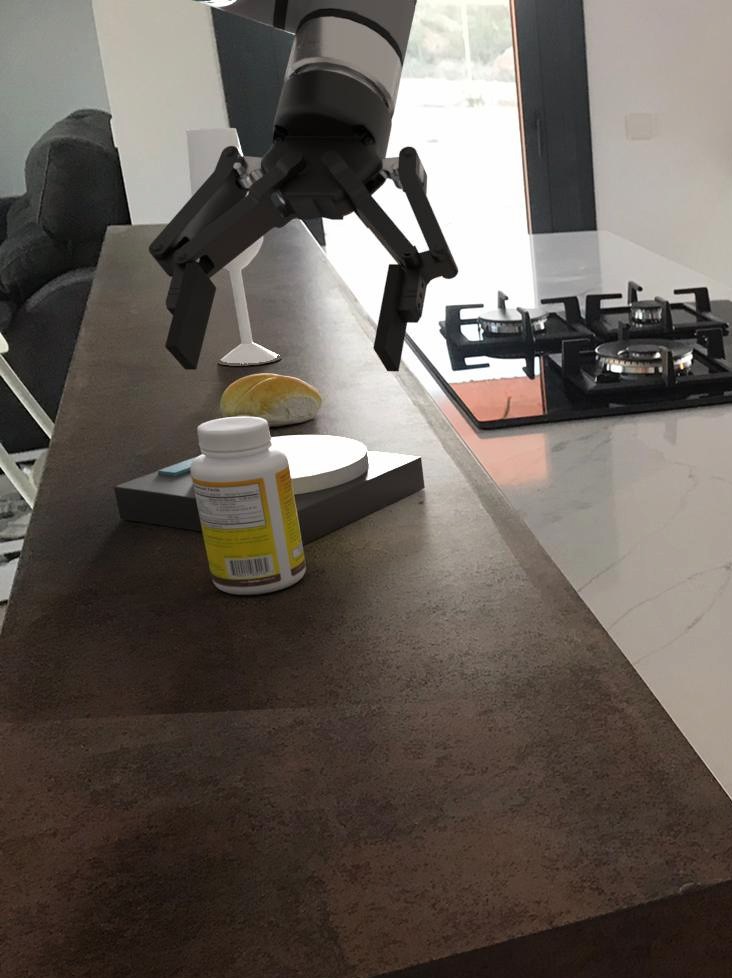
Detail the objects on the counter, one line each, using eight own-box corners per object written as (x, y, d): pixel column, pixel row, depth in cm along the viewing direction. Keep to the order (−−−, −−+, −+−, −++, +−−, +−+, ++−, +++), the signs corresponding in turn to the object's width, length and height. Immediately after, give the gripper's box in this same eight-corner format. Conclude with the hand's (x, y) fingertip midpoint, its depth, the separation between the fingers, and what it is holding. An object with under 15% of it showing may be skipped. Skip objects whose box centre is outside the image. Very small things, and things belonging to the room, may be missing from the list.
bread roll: (285, 401, 124) (279, 360, 122) (337, 416, 119) (331, 373, 117) (203, 418, 118) (195, 375, 117) (253, 434, 113) (245, 390, 111)
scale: (120, 519, 92) (109, 470, 90) (259, 466, 104) (252, 422, 102) (300, 547, 87) (292, 494, 85) (425, 487, 99) (419, 441, 97)
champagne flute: (252, 351, 145) (214, 127, 136) (295, 357, 143) (260, 128, 133) (203, 363, 140) (160, 129, 131) (247, 369, 137) (207, 131, 128)
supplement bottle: (277, 559, 84) (251, 407, 80) (324, 579, 81) (300, 421, 77) (195, 584, 80) (164, 425, 76) (242, 605, 77) (212, 441, 73)
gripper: (524, 142, 94) (487, 391, 86) (192, 141, 95) (126, 388, 87) (498, 63, 87) (456, 327, 79) (140, 64, 88) (63, 324, 80)
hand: (282, 359), depth 83 cm, fingers open, 13 cm apart
